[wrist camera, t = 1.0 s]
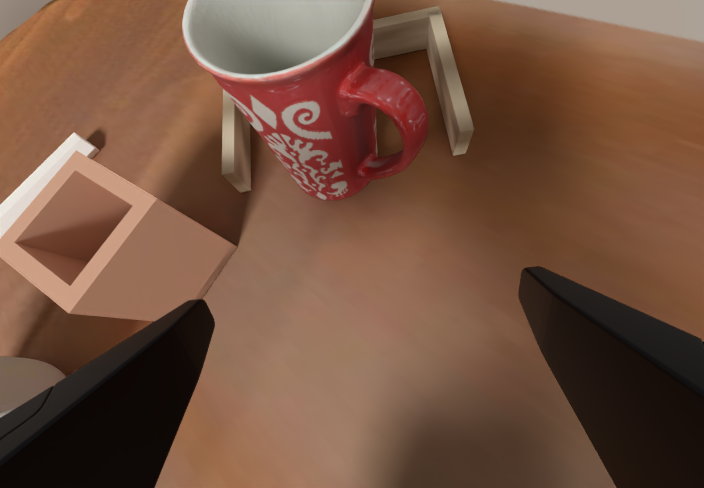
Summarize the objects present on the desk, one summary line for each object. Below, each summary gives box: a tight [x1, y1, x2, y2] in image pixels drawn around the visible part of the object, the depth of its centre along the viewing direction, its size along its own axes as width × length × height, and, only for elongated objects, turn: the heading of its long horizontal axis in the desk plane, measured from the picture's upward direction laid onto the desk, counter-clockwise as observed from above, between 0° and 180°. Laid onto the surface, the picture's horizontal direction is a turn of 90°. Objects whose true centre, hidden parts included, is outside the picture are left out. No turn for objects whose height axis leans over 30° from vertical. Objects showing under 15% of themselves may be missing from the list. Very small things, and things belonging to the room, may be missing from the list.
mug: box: [182, 0, 428, 200], centre depth 20 cm, size 13×9×14 cm
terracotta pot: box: [0, 150, 237, 321], centre depth 21 cm, size 7×7×9 cm
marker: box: [0, 133, 100, 238], centre depth 29 cm, size 3×2×16 cm
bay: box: [222, 6, 474, 192], centre depth 27 cm, size 12×19×3 cm, turn 97°
